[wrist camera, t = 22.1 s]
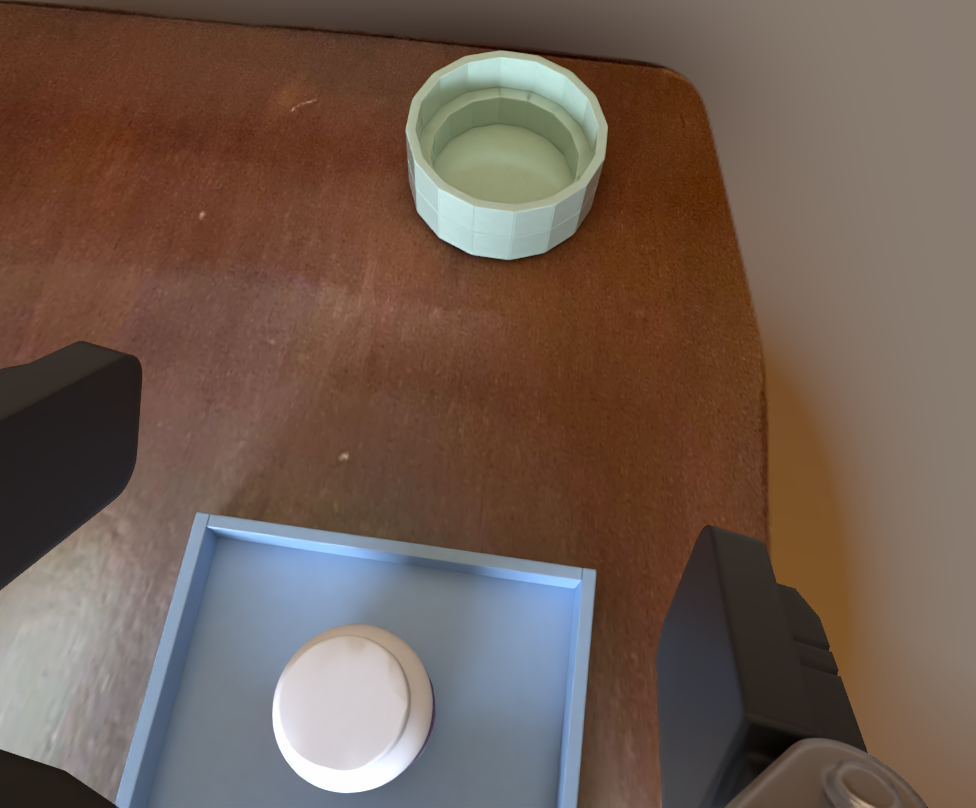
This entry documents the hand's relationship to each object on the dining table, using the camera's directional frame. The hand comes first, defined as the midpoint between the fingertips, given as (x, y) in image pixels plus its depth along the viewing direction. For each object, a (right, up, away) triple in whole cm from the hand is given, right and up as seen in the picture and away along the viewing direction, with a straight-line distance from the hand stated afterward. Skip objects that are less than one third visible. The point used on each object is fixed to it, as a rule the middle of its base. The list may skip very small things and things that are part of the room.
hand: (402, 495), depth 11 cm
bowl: (+2, +13, +33) cm, 36 cm away
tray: (-4, -11, +23) cm, 26 cm away
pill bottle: (-4, -12, +23) cm, 26 cm away
